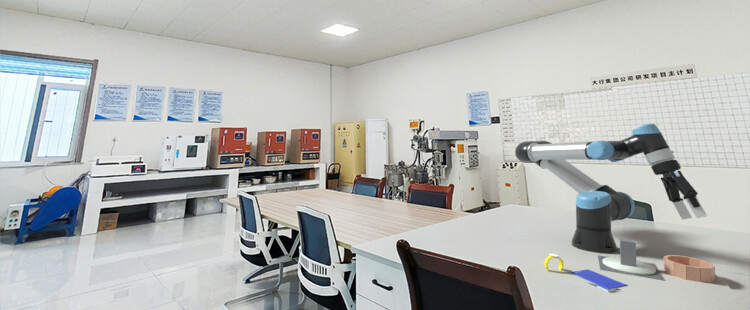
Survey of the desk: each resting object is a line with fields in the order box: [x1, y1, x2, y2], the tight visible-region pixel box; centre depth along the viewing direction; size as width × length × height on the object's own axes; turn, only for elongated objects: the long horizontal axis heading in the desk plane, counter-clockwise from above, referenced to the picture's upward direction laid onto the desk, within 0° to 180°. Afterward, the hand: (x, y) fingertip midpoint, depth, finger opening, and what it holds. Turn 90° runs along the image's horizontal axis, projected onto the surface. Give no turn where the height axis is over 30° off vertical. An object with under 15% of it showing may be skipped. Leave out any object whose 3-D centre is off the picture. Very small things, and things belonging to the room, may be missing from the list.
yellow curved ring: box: [543, 253, 564, 273], centre depth 101 cm, size 6×3×6 cm, turn 93°
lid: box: [602, 238, 656, 275], centre depth 102 cm, size 14×14×9 cm
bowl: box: [662, 254, 716, 283], centre depth 95 cm, size 11×11×5 cm
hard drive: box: [570, 268, 629, 293], centre depth 93 cm, size 2×8×12 cm
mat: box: [597, 255, 666, 282], centre depth 102 cm, size 16×16×1 cm
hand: (694, 218), depth 104 cm, fingers open, 13 cm apart
